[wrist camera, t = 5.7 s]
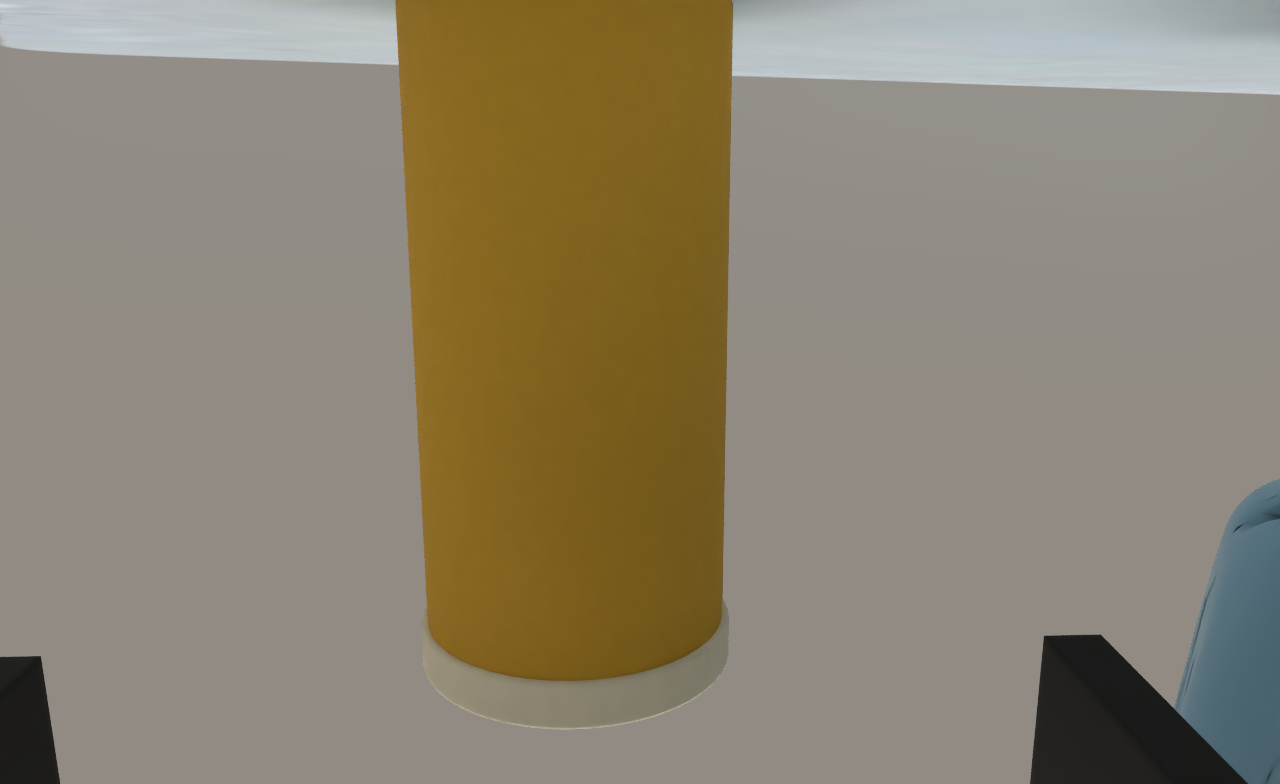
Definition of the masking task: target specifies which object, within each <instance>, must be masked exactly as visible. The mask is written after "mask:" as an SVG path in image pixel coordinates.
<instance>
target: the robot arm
mask: <svg viewBox="0 0 1280 784" xmlns="http://www.w3.org/2000/svg"><path fill="white" fill-rule="evenodd" d="M0 784H60V780H59V773H58V767H57V760H56V753H55V747H54V740H53V734H52V727H51V720H50V714H49V707H48V701H47V694H46V687H45V681H44V675H43V668H42V661H41V656H32V657H0ZM1030 784H1280V479H1279V480H1276V481H1273V482H1270V483H1268V484H1266V485H1263V486H1262V487H1260V488H1258V489H1256V490H1255V491H1254V492H1252V493H1251V494H1249V495H1248V496H1247V497H1246V498H1245V499H1244V500H1243V501H1242V502H1241V503H1240V504H1239V506H1238V507H1237V508H1236V509H1235V511H1234V512H1233V514H1232V515H1231V517H1230V519H1229V521H1228V523H1227V525H1226V528H1225V531H1224V534H1223V536H1222V539H1221V542H1220V545H1219V549H1218V551H1217V555H1216V558H1215V561H1214V565H1213V568H1212V571H1211V575H1210V578H1209V581H1208V585H1207V588H1206V592H1205V596H1204V599H1203V603H1202V607H1201V610H1200V613H1199V617H1198V621H1197V624H1196V628H1195V632H1194V636H1193V640H1192V643H1191V647H1190V651H1189V655H1188V658H1187V662H1186V666H1185V669H1184V673H1183V677H1182V680H1181V684H1180V687H1179V691H1178V695H1177V699H1176V703H1175V707H1174V708H1173V707H1172V706H1171V705H1170V704H1169V703H1168V702H1167V701H1166V700H1165V699H1164V698H1163V697H1162V696H1161V695H1160V694H1159V693H1158V692H1157V691H1156V690H1155V689H1154V688H1153V687H1152V686H1151V685H1150V684H1149V683H1148V682H1147V681H1146V680H1145V679H1144V678H1143V677H1142V676H1141V675H1140V674H1139V673H1138V672H1137V671H1136V670H1135V669H1134V668H1133V667H1132V666H1131V665H1130V664H1129V663H1128V662H1127V661H1126V660H1125V659H1124V658H1123V657H1122V656H1121V655H1120V654H1119V653H1118V652H1117V651H1116V650H1115V649H1114V648H1113V647H1112V646H1111V645H1110V644H1109V643H1108V642H1107V641H1106V640H1105V639H1104V638H1103V637H1102V636H1101V635H1065V636H1064V635H1062V636H1044V642H1043V652H1042V664H1041V674H1040V684H1039V695H1038V706H1037V717H1036V728H1035V738H1034V749H1033V759H1032V769H1031V781H1030Z"/></svg>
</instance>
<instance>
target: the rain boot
mask: <svg viewBox="0 0 1280 784" xmlns="http://www.w3.org/2000/svg"><path fill="white" fill-rule="evenodd" d="M396 20H397V39H398V58H399V78H400V97H401V116H402V135H403V152H404V153H403V154H404V173H405V192H406V211H407V230H408V248H409V249H408V250H409V267H410V268H409V269H410V288H411V308H412V326H413V346H414V365H415V384H416V402H417V403H416V404H417V421H418V442H419V461H420V478H421V479H420V480H421V500H422V518H423V536H424V557H425V576H426V594H427V595H426V596H427V607H426V609H425V611H424V613H423V617H422V621H421V632H422V650H423V666H424V670H425V672H426V675H427V678H428V679H429V681H430V682H431V684H432V685H433V686H434V688H435V689H436V690H437V691H438V692H439V693H440V694H441V695H442V696H443V697H445V698H446V699H448V700H449V701H451V702H452V703H454V704H455V705H457V706H459V707H461V708H463V709H465V710H467V711H469V712H471V713H474V714H477V715H479V716H482V717H485V718H488V719H492V720H496V721H500V722H504V723H508V724H514V725H520V726H526V727H535V728H546V729H584V728H599V727H606V726H614V725H621V724H625V723H630V722H635V721H640V720H643V719H647V718H650V717H653V716H657V715H660V714H663V713H665V712H668V711H670V710H673V709H676V708H678V707H679V706H681V705H683V704H685V703H687V702H689V701H691V700H693V699H694V698H696V697H697V696H699V695H700V694H702V693H703V692H704V691H706V690H707V689H708V688H709V687H710V686H711V685H712V684H713V683H714V682H715V681H716V680H717V678H718V677H719V676H720V674H721V673H722V671H723V668H724V666H725V664H726V662H727V656H728V634H729V633H728V632H729V616H728V609H727V606H726V604H725V602H724V599H723V598H722V593H723V590H722V589H723V537H724V532H723V531H724V480H725V425H726V368H727V310H728V255H729V197H730V142H731V86H732V82H731V81H732V29H733V3H732V0H396Z"/></svg>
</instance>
